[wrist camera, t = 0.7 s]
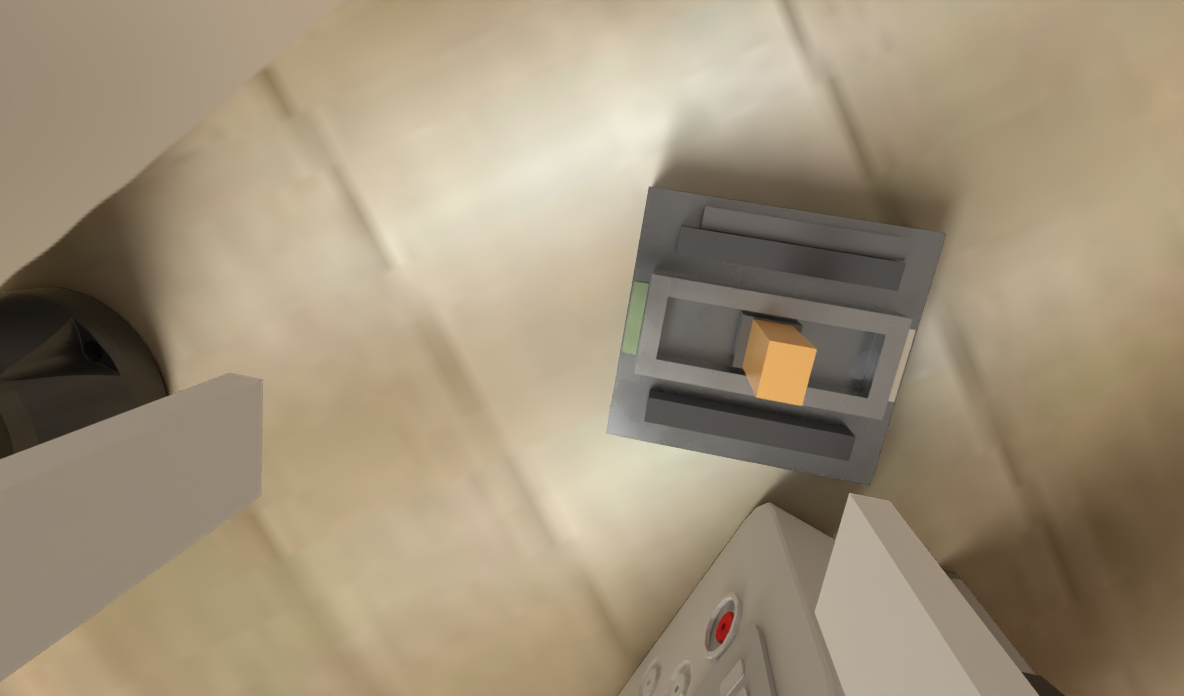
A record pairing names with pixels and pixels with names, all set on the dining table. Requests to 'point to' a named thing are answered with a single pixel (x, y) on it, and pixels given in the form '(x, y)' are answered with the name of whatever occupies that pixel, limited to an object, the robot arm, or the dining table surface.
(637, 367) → the frame
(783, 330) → the breaker lever
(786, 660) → the rounded white slab
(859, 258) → the grey slider track plate
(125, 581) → the robot arm
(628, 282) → the dining table surface
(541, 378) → the dining table surface
